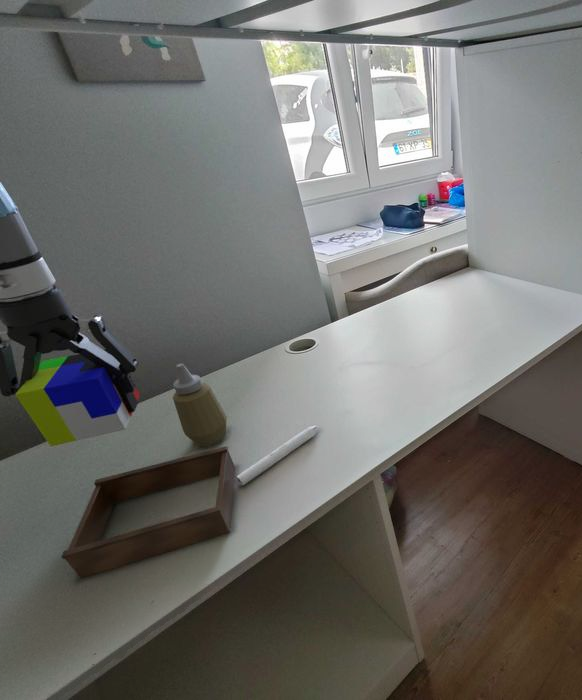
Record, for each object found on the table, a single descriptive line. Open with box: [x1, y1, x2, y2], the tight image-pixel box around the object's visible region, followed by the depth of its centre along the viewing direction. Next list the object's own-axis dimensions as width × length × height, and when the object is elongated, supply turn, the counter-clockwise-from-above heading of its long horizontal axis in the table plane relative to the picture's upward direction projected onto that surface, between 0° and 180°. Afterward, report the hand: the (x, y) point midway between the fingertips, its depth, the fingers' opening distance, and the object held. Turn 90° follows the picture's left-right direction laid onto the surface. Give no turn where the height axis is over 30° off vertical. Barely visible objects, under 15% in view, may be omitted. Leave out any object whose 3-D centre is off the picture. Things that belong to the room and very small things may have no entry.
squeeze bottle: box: [172, 363, 228, 447], centre depth 88 cm, size 8×8×18 cm
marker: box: [235, 425, 320, 486], centre depth 87 cm, size 18×2×2 cm, turn 145°
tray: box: [60, 445, 236, 579], centre depth 74 cm, size 21×16×6 cm
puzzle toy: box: [14, 348, 141, 447], centre depth 72 cm, size 10×10×10 cm
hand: (96, 415), depth 74 cm, fingers closed on puzzle toy, 10 cm apart
